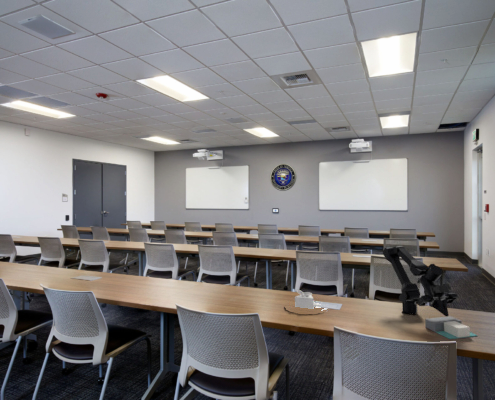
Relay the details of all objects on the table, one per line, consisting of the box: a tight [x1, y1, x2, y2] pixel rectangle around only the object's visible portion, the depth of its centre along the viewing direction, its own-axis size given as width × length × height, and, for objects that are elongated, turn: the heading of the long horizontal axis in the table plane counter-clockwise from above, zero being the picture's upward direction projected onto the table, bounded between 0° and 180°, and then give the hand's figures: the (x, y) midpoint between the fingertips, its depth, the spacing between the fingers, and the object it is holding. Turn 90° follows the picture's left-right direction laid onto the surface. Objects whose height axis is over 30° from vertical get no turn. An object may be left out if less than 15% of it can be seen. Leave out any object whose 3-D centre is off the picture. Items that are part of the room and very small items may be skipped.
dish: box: [294, 289, 329, 311], centre depth 197 cm, size 25×25×11 cm
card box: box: [444, 321, 471, 339], centre depth 152 cm, size 4×6×8 cm
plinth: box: [424, 315, 463, 333], centre depth 160 cm, size 6×14×4 cm, turn 101°
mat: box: [435, 331, 478, 340], centre depth 152 cm, size 8×14×1 cm, turn 101°
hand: (447, 316), depth 157 cm, fingers closed
